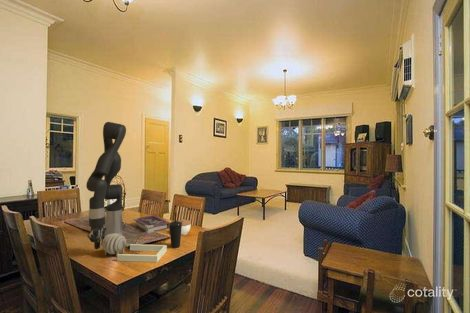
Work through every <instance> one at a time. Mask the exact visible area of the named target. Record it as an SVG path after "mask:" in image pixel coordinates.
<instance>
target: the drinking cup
mask: <svg viewBox="0 0 470 313" xmlns="http://www.w3.org/2000/svg"><path fill="white" fill-rule="evenodd" d="M181 228H182V222H180V221H178V220H177V212H176V211H175V212H174V220H173V221H169V237H170V247H171V249H178V248H180V247H181V239H182V238H181V237H182V235H181Z"/></svg>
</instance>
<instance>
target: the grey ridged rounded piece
mask: <svg viewBox="0 0 470 313" xmlns="http://www.w3.org/2000/svg"><path fill="white" fill-rule="evenodd" d="M100 246H101V247H102V249H103V250H104V255H105V256H107V255H115V256H116V258H117V255H118V254H120V252H121V254H125V248H128V247H130V244H128V243H127V239H126V237H125V235H123V234H122V235H121V234H118V233H115V234H114V233H113V234H108V235H107V236H105V235H104V237H103V239H101V241H100Z"/></svg>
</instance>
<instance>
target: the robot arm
mask: <svg viewBox="0 0 470 313" xmlns="http://www.w3.org/2000/svg"><path fill="white" fill-rule="evenodd" d="M126 133H127V128H126V125H124V124H122V123H121V124H120V123H116V122H112V121H107V122H105V123H104V124H103V127H102V139H103V140H102V141H103V147H104V148H103V149H104V151H103V153H102V154H101V155H100V156H98V159H97V162H96V165H95V167H94V170H93V171H92V172H91V174H90V176H89V177H88V179H87V181H86V184H85V185H86V189H87V190H88V191H89V192H90V193H91V192H93V196H91V197H90V198H89V201H88V203H89V207H88V208H89V209H88V226H89V227H90V233H89V234H87V238H88V240H89V242H91V243H94V245H93V246H94V250H99V249H100V248H101V242H102V240H103V239H104V237H105V236H107V235H108V234H113V233H114V234H115V233H118V234H121V235H122V236H123V186H122V184H120V183H119V184H112V181H113V179H115V177H116V176H117V174H118V173H119V172H120V171H121V168H122V157H121V154H120V153H119V152H118V151H119V149H120V147H121V146H122V143H123V141H124V139H125V137H126ZM113 140H114V141H113ZM103 178H104V179H103ZM105 200H115V201H114V202H112V203H110V204H107V205H105ZM105 206H106V208H105Z"/></svg>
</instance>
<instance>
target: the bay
mask: <svg viewBox="0 0 470 313" xmlns="http://www.w3.org/2000/svg"><path fill="white" fill-rule="evenodd" d="M167 247H168V246H167V244H166V245H165V244H135V243H133V244H132V243H131V244H129V251H134V252H135V251H136V252H137V251H140V252H143V251H144V252H157V253H156V254H133V253H132V254H131V253H127V254H125V253H124V254H122V253H119V254H118V255H117V257H116V258H117V260H116V261H117V262H137V263H139V262H141V263H142V262H143V263H158V262H159V261H160V260H161V258H163V256H164V254H165V253H166V252H167V251H168V248H167Z"/></svg>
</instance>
